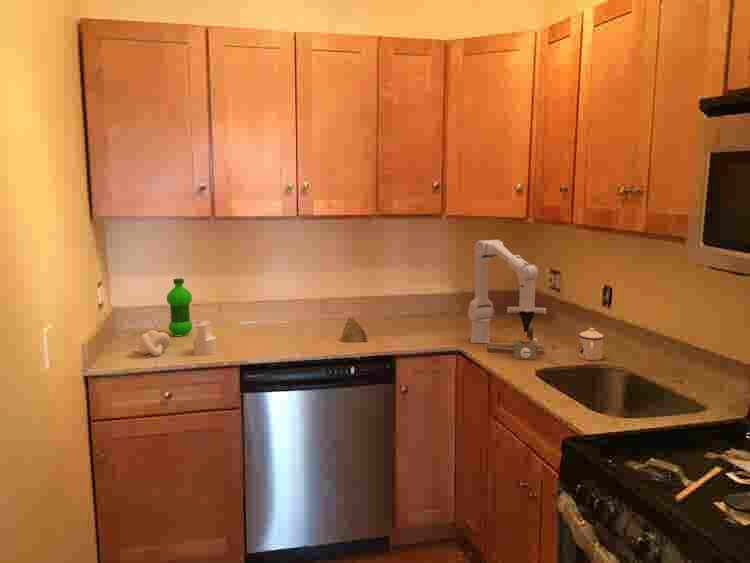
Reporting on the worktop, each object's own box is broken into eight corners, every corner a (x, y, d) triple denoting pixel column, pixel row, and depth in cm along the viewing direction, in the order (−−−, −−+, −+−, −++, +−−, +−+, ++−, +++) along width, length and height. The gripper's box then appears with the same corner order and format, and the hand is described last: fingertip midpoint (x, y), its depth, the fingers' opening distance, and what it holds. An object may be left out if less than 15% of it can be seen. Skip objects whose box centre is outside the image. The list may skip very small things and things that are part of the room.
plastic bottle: (168, 333, 281) (165, 278, 277) (193, 331, 285) (190, 277, 281) (168, 338, 272) (165, 281, 268) (193, 336, 275) (191, 280, 271)
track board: (487, 346, 260) (487, 342, 260) (542, 348, 257) (542, 345, 256) (487, 352, 251) (488, 348, 251) (544, 354, 248) (544, 350, 248)
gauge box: (513, 354, 248) (514, 339, 247) (534, 355, 247) (535, 340, 246) (514, 359, 241) (515, 344, 240) (536, 360, 240) (536, 344, 239)
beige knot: (129, 355, 245) (128, 333, 244) (153, 348, 255) (152, 327, 254) (150, 359, 240) (149, 336, 238) (174, 352, 250) (173, 330, 249)
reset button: (520, 343, 246) (520, 337, 245) (529, 343, 245) (529, 337, 245) (520, 345, 242) (521, 339, 242) (530, 346, 241) (530, 339, 241)
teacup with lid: (577, 353, 250) (579, 324, 248) (602, 355, 247) (603, 326, 245) (578, 361, 238) (579, 331, 237) (603, 363, 236) (605, 333, 234)
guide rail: (489, 345, 256) (489, 342, 256) (541, 347, 253) (542, 344, 253) (489, 346, 255) (489, 343, 254) (542, 348, 251) (542, 345, 251)
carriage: (521, 344, 256) (522, 325, 255) (536, 345, 255) (537, 326, 254) (522, 348, 250) (523, 329, 249) (537, 348, 249) (538, 329, 248)
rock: (373, 334, 271) (354, 328, 276) (368, 321, 265) (349, 315, 270) (360, 353, 265) (341, 346, 270) (355, 340, 259) (336, 334, 264)
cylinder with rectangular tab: (213, 355, 245) (212, 325, 243) (190, 355, 245) (189, 325, 243) (219, 349, 254) (218, 320, 252) (197, 349, 254) (196, 320, 252)
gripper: (508, 297, 238) (507, 332, 240) (547, 299, 236) (546, 334, 238) (507, 294, 245) (506, 328, 247) (545, 295, 242) (544, 330, 245)
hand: (525, 331), depth 243 cm, fingers closed
